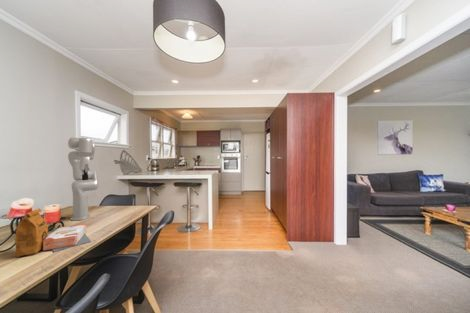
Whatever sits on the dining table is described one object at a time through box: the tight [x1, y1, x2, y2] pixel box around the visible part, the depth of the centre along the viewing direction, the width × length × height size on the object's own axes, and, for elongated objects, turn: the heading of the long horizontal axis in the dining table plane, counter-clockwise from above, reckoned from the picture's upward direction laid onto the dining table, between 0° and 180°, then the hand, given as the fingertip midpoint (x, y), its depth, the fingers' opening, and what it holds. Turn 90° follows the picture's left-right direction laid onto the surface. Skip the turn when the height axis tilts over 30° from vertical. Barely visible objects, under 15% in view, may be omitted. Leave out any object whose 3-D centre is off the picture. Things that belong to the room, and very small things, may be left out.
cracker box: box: [42, 223, 87, 251], centre depth 109 cm, size 14×6×21 cm
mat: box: [51, 233, 92, 253], centre depth 108 cm, size 18×16×1 cm
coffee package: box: [14, 208, 49, 258], centre depth 98 cm, size 10×12×22 cm
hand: (85, 179), depth 132 cm, fingers closed
